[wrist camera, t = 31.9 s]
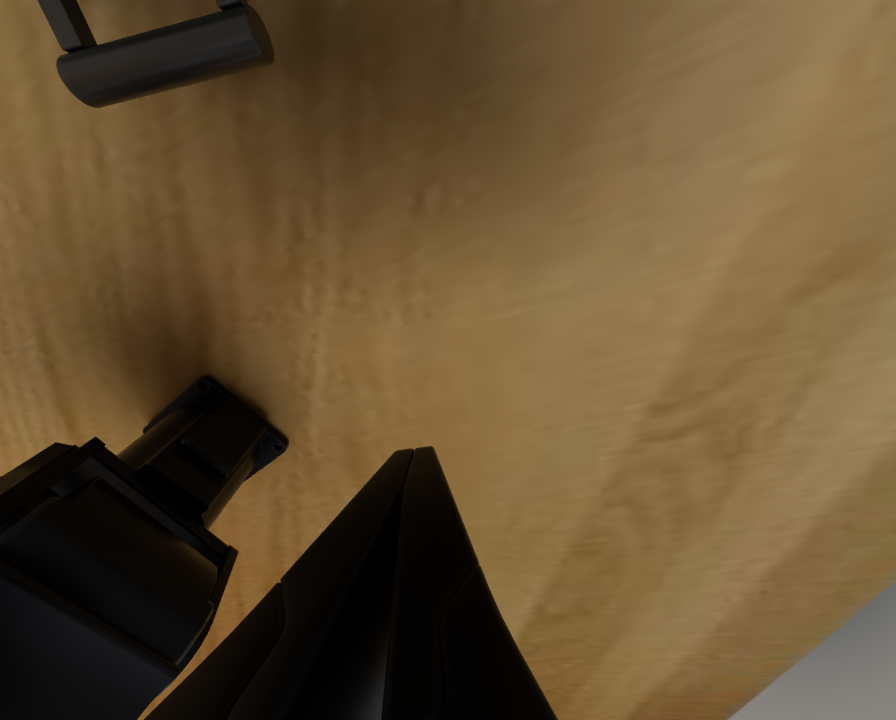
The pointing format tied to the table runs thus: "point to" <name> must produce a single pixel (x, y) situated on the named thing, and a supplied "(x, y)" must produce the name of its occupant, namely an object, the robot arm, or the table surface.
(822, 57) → the table surface
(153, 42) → the drawer
